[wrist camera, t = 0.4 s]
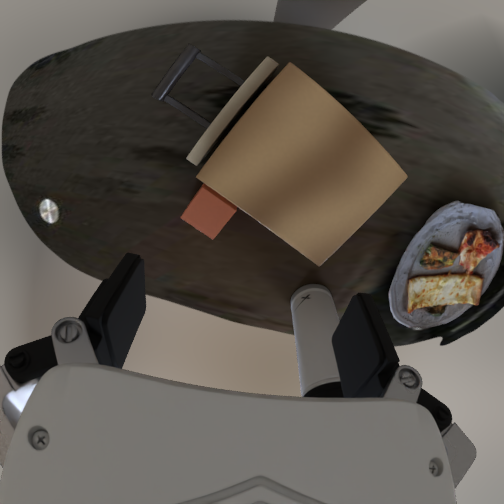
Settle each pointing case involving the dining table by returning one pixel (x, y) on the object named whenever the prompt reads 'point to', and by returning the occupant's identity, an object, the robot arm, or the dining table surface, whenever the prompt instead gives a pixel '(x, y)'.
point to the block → (209, 211)
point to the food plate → (447, 265)
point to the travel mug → (316, 341)
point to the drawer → (230, 108)
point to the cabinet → (303, 166)
